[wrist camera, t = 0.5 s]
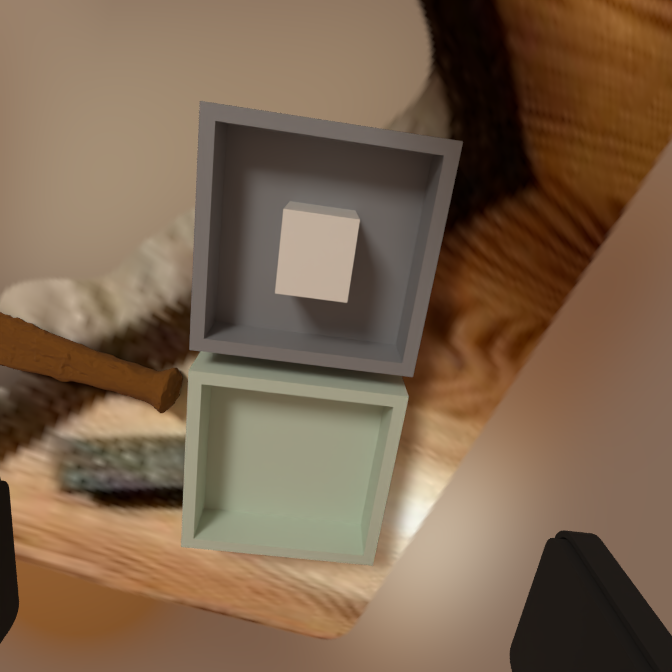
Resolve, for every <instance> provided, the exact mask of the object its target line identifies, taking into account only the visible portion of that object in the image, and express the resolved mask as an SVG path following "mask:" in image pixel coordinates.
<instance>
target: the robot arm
mask: <svg viewBox="0 0 672 672" xmlns="http://www.w3.org/2000/svg"><path fill="white" fill-rule="evenodd" d="M18 608H19V597H18V585H17V574H16V562H15V550H14V539H13V527H12V515H11V504H10V492H9V486H8V484H7V482H6V481H1V479H0V643H1V642H2V640H3V639H4V637H5V636H6V634H7V633H8V631H9V630H10V628H11V626H12V625H13V623H14V621H15V619H16V616H17V612H18ZM510 664H511V669H512V672H672V636H671V634H670V633H669V632H668V631H667V629H666V627H665V626H664V625H663V623H662V622H661V621H660V619H659V618H658V617H657V615H656V614H655V613H654V611H653V610H652V608H651V607H650V606H649V604H648V603H647V602H646V600H645V599H644V598H643V596H642V595H641V594H640V592H639V591H638V589H637V588H636V587H635V585H634V584H633V583H632V581H631V580H630V579H629V577H628V576H627V574H626V573H625V572H624V571H623V569H622V568H621V566H620V565H619V564H618V562H617V561H616V560H615V558H614V557H613V555H612V554H611V553H610V551H609V550H608V549H607V547H606V546H605V545H604V543H603V542H602V541H601V539H600V538H599V537H598V536H597V535H595V534H592V533H583V532H572V531H560V532H558V533H557V534H556V536H555V538H550V539H549V540H548V541H547V543H546V545H545V548H544V551H543V554H542V556H541V560H540V563H539V566H538V568H537V572H536V574H535V577H534V580H533V583H532V586H531V589H530V592H529V595H528V598H527V600H526V603H525V606H524V609H523V612H522V615H521V618H520V621H519V624H518V627H517V630H516V633H515V636H514V639H513V642H512V644H511V648H510Z"/></svg>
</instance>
